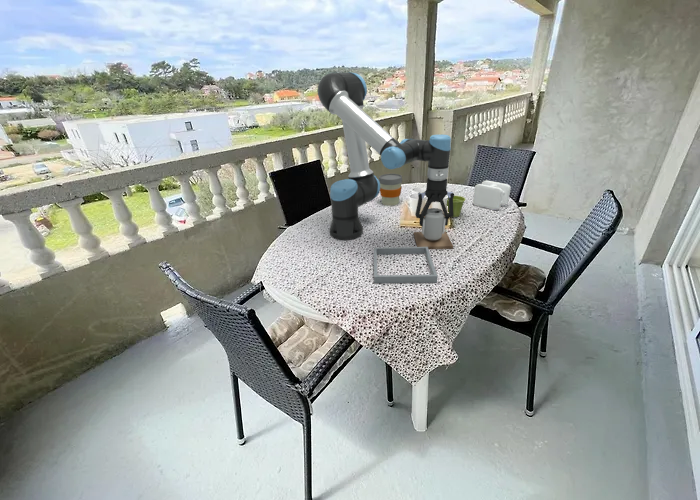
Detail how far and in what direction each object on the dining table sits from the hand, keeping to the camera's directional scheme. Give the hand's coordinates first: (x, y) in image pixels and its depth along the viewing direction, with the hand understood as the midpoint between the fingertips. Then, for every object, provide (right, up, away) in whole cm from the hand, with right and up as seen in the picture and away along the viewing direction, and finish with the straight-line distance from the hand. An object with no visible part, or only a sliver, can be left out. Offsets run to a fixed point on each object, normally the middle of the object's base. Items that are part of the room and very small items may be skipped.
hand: (432, 232), depth 129 cm
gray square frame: (-15, -13, -15) cm, 25 cm away
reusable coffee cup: (-12, +19, +45) cm, 50 cm away
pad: (0, -4, +2) cm, 4 cm away
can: (0, -2, +1) cm, 2 cm away
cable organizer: (+39, +16, +34) cm, 54 cm away
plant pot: (+17, +10, +25) cm, 32 cm away
